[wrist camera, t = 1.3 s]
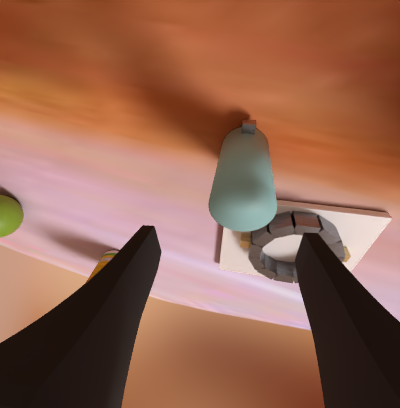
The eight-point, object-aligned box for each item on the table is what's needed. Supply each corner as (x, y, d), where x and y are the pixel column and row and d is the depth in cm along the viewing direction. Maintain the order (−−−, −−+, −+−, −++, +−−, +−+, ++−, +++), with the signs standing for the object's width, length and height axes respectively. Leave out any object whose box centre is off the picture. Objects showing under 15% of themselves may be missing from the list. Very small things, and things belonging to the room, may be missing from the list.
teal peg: (275, 119, 17) (288, 172, 11) (261, 177, 21) (266, 242, 15) (224, 115, 18) (210, 164, 12) (219, 173, 21) (207, 234, 15)
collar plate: (388, 212, 21) (403, 234, 19) (335, 282, 28) (342, 303, 26) (227, 193, 23) (225, 212, 20) (219, 264, 30) (217, 282, 28)
